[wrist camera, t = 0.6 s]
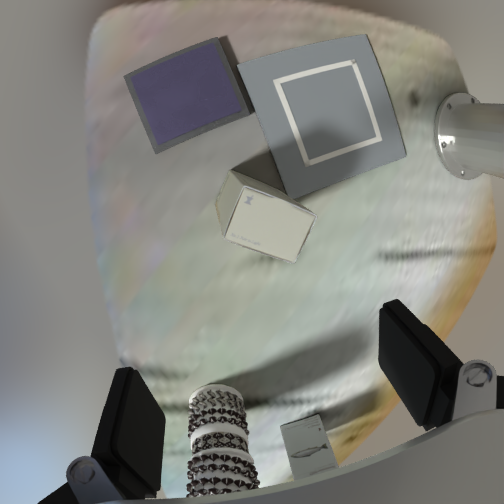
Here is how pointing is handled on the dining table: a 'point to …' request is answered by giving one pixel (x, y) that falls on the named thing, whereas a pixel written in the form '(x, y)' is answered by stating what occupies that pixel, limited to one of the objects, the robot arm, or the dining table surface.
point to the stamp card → (323, 112)
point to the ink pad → (186, 94)
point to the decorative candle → (219, 443)
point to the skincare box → (262, 218)
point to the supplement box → (308, 448)
